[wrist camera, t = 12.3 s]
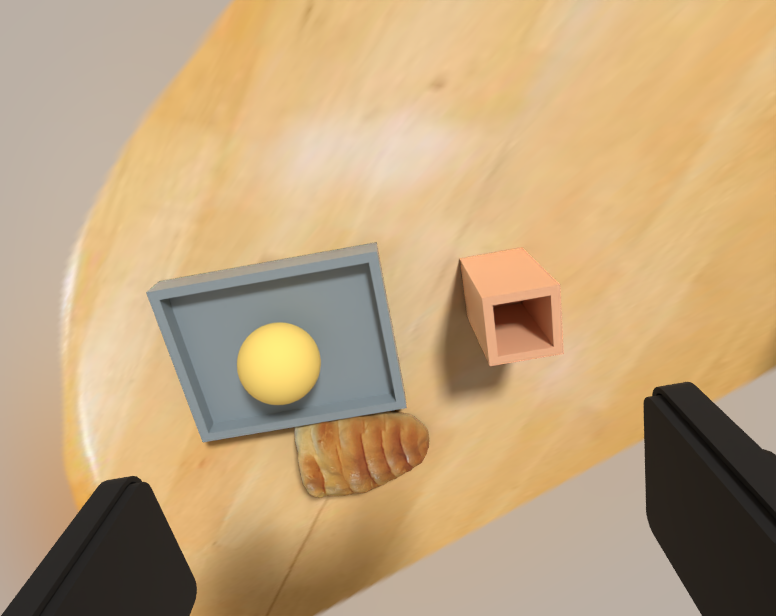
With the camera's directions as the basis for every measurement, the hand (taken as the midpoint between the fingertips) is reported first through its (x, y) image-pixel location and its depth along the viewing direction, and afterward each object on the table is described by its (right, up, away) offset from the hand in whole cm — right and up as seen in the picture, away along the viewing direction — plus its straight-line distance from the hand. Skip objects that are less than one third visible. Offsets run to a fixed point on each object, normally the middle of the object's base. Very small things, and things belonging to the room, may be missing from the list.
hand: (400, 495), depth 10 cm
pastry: (-3, -6, +28) cm, 29 cm away
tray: (-7, +1, +25) cm, 26 cm away
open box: (+7, +5, +24) cm, 25 cm away
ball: (-7, 0, +22) cm, 23 cm away
